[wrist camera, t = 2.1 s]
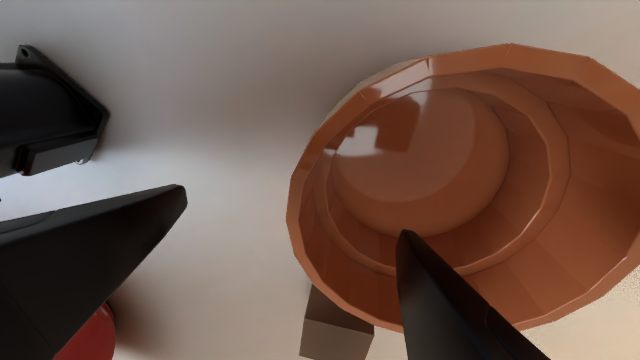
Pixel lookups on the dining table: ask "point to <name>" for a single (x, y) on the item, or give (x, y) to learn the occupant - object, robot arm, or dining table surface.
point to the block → (333, 331)
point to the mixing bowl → (92, 339)
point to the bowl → (475, 182)
